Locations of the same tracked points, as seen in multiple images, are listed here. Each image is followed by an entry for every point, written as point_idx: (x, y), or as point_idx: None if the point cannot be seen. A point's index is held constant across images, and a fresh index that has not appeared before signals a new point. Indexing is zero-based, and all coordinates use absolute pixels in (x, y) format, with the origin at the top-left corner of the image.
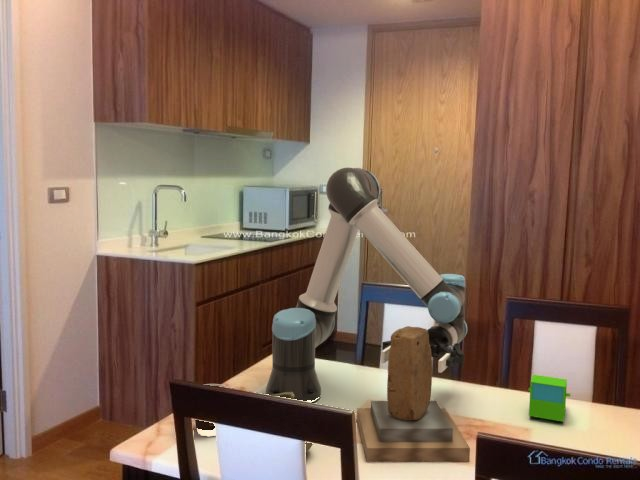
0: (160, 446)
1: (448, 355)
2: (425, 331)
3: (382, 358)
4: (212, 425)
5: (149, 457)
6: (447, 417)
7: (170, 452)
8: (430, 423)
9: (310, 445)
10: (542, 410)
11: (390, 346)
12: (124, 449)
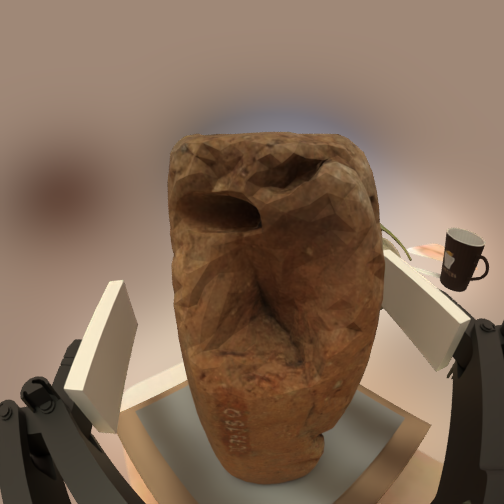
0: (433, 255)
1: (75, 362)
2: (178, 141)
3: None
4: (442, 266)
5: (415, 247)
6: None
7: (419, 255)
8: (191, 410)
9: None
10: None
11: (442, 298)
12: (435, 244)
